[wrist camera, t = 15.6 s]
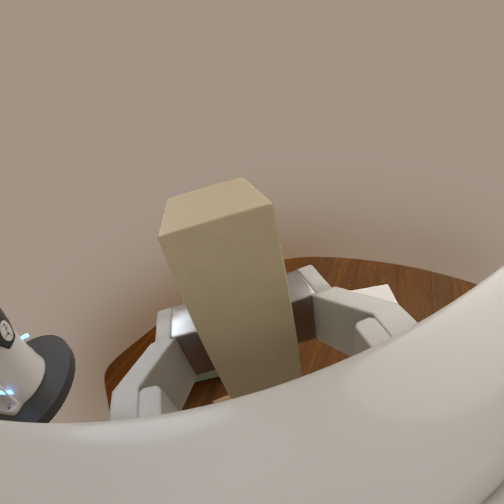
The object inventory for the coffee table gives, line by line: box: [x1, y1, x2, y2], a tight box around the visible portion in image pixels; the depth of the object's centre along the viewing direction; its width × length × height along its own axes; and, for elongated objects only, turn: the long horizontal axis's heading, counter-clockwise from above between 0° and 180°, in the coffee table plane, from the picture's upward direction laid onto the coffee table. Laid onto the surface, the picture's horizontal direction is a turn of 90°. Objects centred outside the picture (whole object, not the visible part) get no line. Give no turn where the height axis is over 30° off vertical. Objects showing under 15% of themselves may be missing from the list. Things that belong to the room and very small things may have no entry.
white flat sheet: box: [353, 284, 397, 303], centre depth 37 cm, size 8×8×1 cm
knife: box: [158, 177, 303, 399], centre depth 10 cm, size 2×4×16 cm, turn 13°
